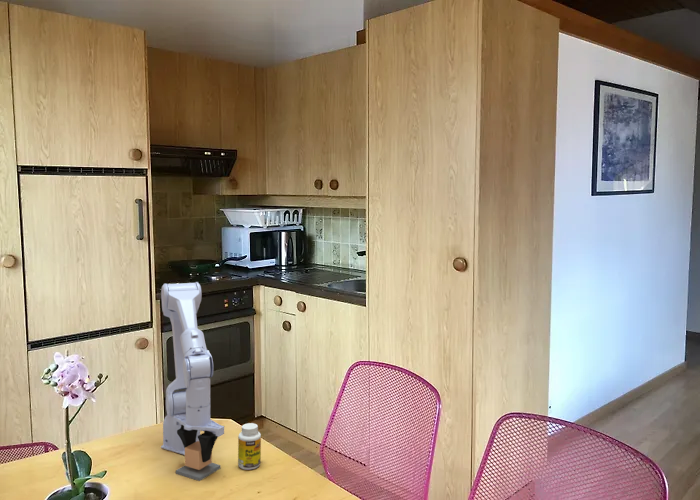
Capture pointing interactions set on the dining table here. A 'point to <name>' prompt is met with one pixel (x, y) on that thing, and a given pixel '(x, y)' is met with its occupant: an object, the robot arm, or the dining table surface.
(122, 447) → the dining table surface
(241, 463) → the supplement bottle
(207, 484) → the dining table surface
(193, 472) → the mat
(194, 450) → the block
